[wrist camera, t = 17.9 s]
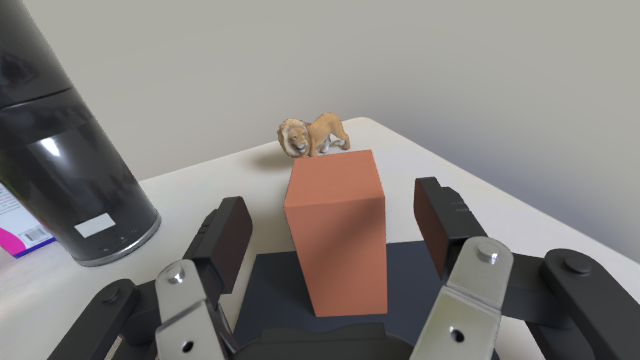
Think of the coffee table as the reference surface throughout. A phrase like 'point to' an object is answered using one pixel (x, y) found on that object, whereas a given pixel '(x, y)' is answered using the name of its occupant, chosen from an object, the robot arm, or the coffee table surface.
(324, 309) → the terracotta block
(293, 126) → the lion figurine
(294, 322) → the slate mat
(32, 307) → the coffee table surface
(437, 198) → the robot arm
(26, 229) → the supplement box
